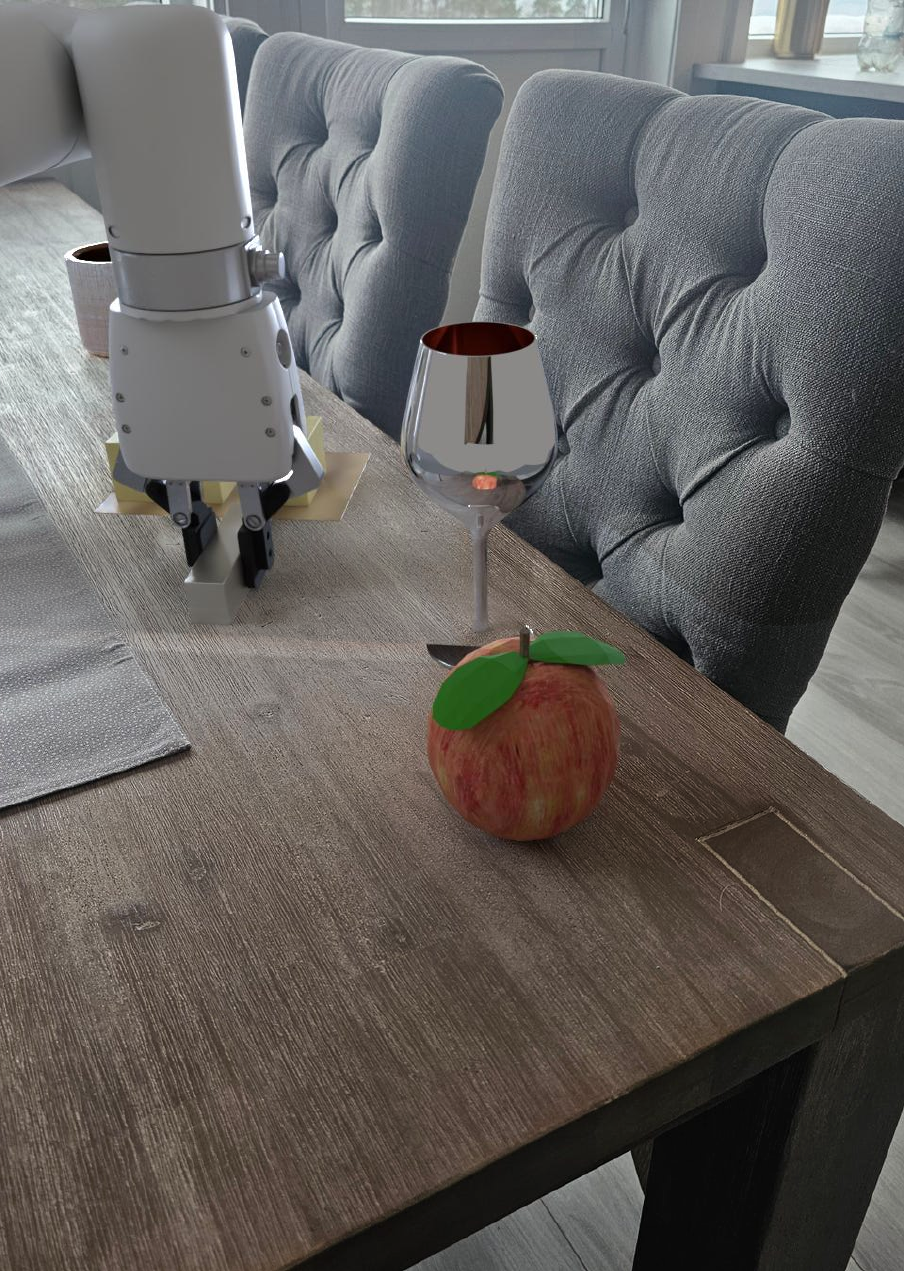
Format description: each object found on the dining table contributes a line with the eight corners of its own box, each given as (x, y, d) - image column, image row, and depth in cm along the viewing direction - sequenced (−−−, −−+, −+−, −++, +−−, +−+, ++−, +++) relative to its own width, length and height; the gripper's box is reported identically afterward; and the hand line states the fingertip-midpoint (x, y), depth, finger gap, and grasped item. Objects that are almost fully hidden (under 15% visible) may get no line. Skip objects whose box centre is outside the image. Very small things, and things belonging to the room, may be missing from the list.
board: (95, 527, 76) (92, 512, 75) (154, 461, 86) (151, 447, 85) (341, 536, 74) (340, 520, 73) (372, 466, 84) (371, 452, 83)
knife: (231, 630, 62) (223, 583, 60) (191, 628, 62) (182, 582, 61) (313, 468, 80) (309, 429, 78) (283, 467, 80) (278, 428, 79)
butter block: (116, 501, 77) (104, 442, 74) (146, 467, 82) (135, 412, 79) (223, 504, 76) (214, 445, 73) (246, 470, 81) (238, 414, 78)
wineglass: (576, 632, 63) (591, 329, 53) (503, 700, 57) (505, 376, 47) (461, 595, 67) (456, 306, 57) (383, 655, 61) (361, 347, 51)
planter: (200, 329, 117) (186, 239, 112) (169, 361, 108) (152, 264, 102) (106, 329, 118) (88, 239, 113) (66, 360, 109) (45, 264, 104)
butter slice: (281, 506, 75) (274, 447, 73) (301, 471, 80) (295, 415, 78) (308, 506, 75) (302, 447, 73) (326, 472, 80) (321, 416, 78)
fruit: (396, 784, 51) (384, 608, 46) (568, 732, 55) (576, 561, 49) (470, 905, 45) (466, 715, 39) (661, 837, 48) (682, 653, 42)
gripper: (350, 259, 58) (371, 553, 68) (73, 257, 60) (132, 544, 70) (320, 295, 52) (348, 613, 62) (11, 292, 54) (86, 602, 64)
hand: (233, 574), depth 66 cm, fingers closed on knife, 2 cm apart
